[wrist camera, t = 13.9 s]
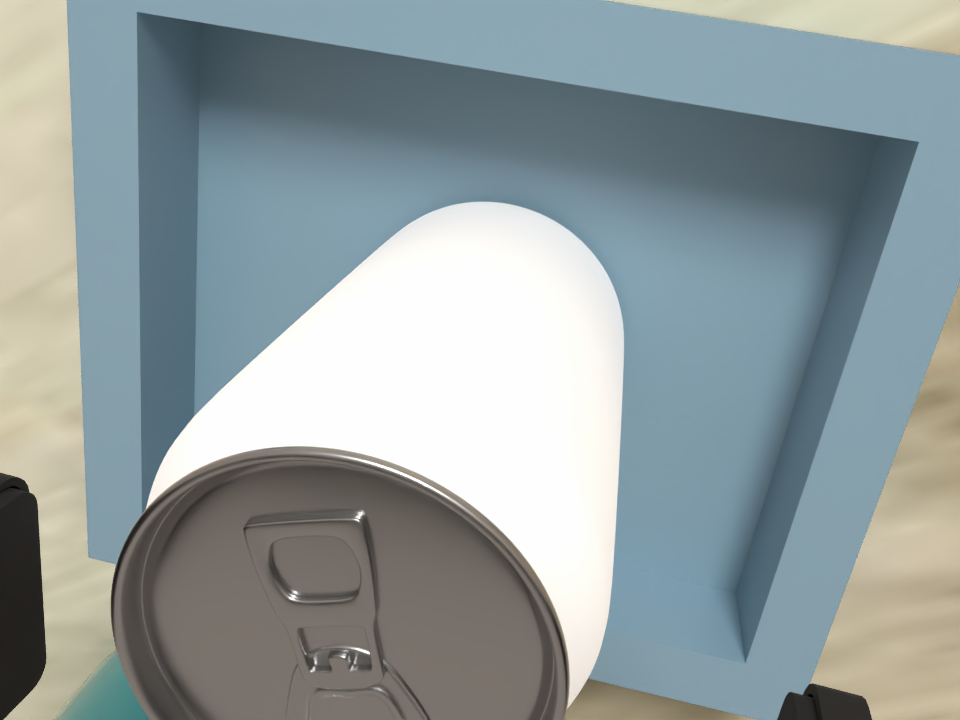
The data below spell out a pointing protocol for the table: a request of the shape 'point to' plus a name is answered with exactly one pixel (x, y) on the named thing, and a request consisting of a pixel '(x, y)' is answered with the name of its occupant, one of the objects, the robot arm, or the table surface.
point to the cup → (104, 696)
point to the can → (395, 495)
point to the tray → (583, 211)
